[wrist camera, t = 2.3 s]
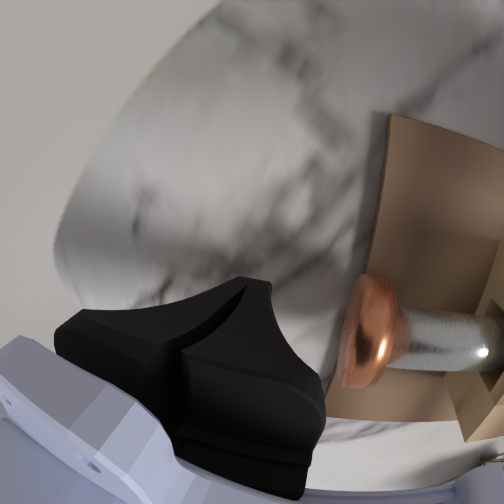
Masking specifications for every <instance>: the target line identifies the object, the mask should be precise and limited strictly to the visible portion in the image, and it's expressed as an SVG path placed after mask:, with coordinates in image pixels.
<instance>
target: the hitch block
mask: <svg viewBox="0 0 504 504" xmlns="http://www.w3.org/2000/svg"><path fill="white" fill-rule="evenodd" d="M363 274H366V275H372V276H378V277H384V278H389V279H390V280H392V282H393V284H394V286H395V290H396V295H397V304H398V305H405V306H412V307H419V308H426V309H434V310H441V311H449V312H457V313H465V314H473V315H482V316H491V317H500V318H504V152H503V151H501V150H499V149H496V148H494V147H492V146H489V145H487V144H484V143H482V142H479V141H477V140H474V139H472V138H469V137H466V136H464V135H461V134H458V133H455V132H452V131H449V130H446V129H443V128H440V127H437V126H434V125H431V124H427V123H424V122H420V121H417V120H413V119H409V118H406V117H402V116H398V115H394V114H391V115H389V116H388V126H387V137H386V146H385V155H384V163H383V171H382V178H381V185H380V191H379V197H378V203H377V209H376V215H375V220H374V225H373V230H372V235H371V240H370V245H369V249H368V254H367V258H366V263H365V267H364V271H363ZM337 364H338V360H337V363H336V366H335V368H334V371H333V374H332V377H331V379H330V382H329V385H328V387H327V390H326V393H325V395H324V399H325V407H326V416H327V417H335V418H345V419H356V420H369V421H390V422H432V421H452V420H458V421H459V425H460V428H461V431H462V435H463V438H464V442H465V443H466V442H473V441H479V440H484V439H490V438H495V437H499V436H504V371H486V372H461V371H430V370H413V369H400V368H388V367H386V369H385V371H384V373H383V375H382V377H381V378H380V380H379V381H378V383H377V384H376V385H375V386H374V387H373V388H371V389H369V390H366V389H356V388H347V387H341V386H340V385H339V383H338V378H337Z"/></svg>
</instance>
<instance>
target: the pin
mask: <svg viewBox="0 0 504 504" xmlns="http://www.w3.org/2000/svg"><path fill="white" fill-rule="evenodd" d="M386 367H388V368H400V369H413V370H430V371H461V372H486V371H504V318H500V317H491V316H482V315H473V314H465V313H457V312H449V311H441V310H434V309H426V308H419V307H412V306H405V305H398V304H397V295H396V290H395V286H394V284H393V282H392V280H390V279H389V278H384V277H378V276H372V275H366V274H361V275H359V277H358V278H357V280H356V282H355V284H354V286H353V289H352V292H351V295H350V298H349V302H348V306H347V310H346V314H345V318H344V323H343V328H342V333H341V339H340V346H339V353H338V364H337V378H338V383H339V385H340V386H341V387H347V388H356V389H366V390H369V389H371V388H373V387H374V386H375V385H376V384H377V383H378V381H379V380H380V378H381V377H382V375H383V373H384V371H385V369H386Z"/></svg>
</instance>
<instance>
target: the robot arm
mask: <svg viewBox="0 0 504 504" xmlns="http://www.w3.org/2000/svg"><path fill="white" fill-rule="evenodd" d="M271 291H272V284H271V283H270V282H268V281H262V280H257V279H251V278H246V277H241V276H239V277H236V278H234V279H232V280H229V281H227V282H225V283H223V284H221V285H219V286H217V287H215V288H212V289H210V290H208V291H205V292H203V293H200V294H198V295H195V296H193V297H190V298H187V299H184V300H181V301H177V302H173V303H170V304H165V305H160V306H154V307H148V308H142V309H131V310H89V309H82V310H81V311H79V312H78V313H77V314H75V315H74V316H73V317H71V318H70V319H69V320H68V321H66V322H65V323H64V324H62V325H61V326H60V327H58V328H57V329H56V331H55V333H54V347H55V351H56V354H55V353H54V352H52V351H50V350H49V349H47V348H45V347H44V346H42V345H41V344H39V343H38V342H36V341H35V340H33V339H29V338H27V337H23V336H20V335H19V336H17V337H16V338H15V339H13V340H12V341H11V342H9V343H8V344H7V345H5V346H4V347H2V348H1V349H0V504H504V472H503V468H502V465H501V462H496V463H492V464H488V465H484V466H480V467H476V468H473V469H471V470H469V471H467V472H466V473H465V474H463V475H462V476H461V477H460V478H459V479H458V480H457V481H456V482H455V483H452V484H447V485H441V486H435V487H428V488H420V489H410V490H398V491H377V492H352V491H330V490H317V489H308V488H305V485H306V479H307V473H308V468H309V467H310V465H311V461H312V453H313V450H314V448H315V446H316V444H317V442H318V440H319V438H320V436H321V434H322V433H323V430H324V427H325V423H326V407H325V399H324V394H323V389H322V385H321V381H320V378H319V375H318V374H317V373H316V372H315V371H314V370H312V369H311V368H310V367H309V366H308V365H307V364H305V363H304V362H303V361H302V360H301V359H300V358H299V357H298V356H297V355H296V354H295V352H294V351H293V350H292V348H291V347H290V345H289V344H288V343H287V341H286V340H285V338H284V336H283V334H282V332H281V330H280V328H279V326H278V324H277V321H276V318H275V315H274V312H273V308H272V303H271Z"/></svg>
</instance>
